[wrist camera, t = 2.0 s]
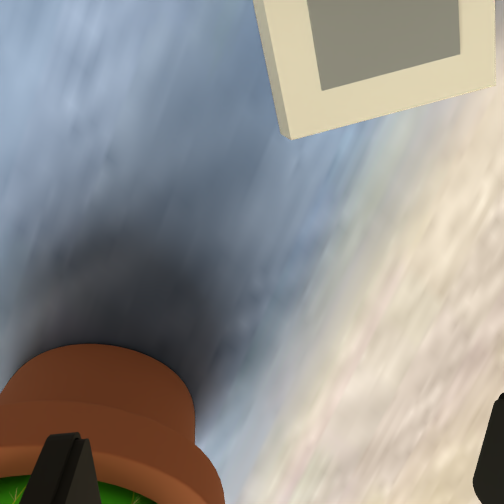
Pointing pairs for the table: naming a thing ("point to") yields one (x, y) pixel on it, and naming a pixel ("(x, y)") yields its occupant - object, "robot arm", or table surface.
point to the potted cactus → (107, 425)
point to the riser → (371, 57)
